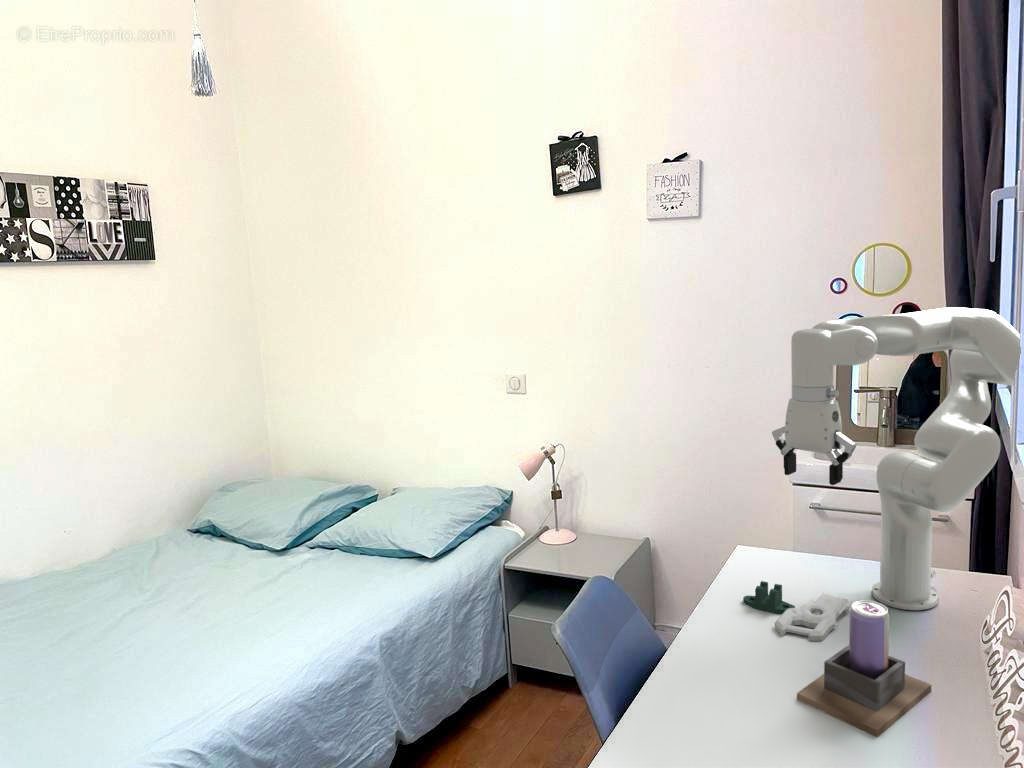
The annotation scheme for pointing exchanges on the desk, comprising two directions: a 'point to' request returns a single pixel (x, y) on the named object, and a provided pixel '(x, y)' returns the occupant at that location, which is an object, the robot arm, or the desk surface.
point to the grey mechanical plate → (813, 617)
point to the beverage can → (869, 638)
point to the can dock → (864, 693)
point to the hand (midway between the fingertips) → (812, 478)
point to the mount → (768, 599)
